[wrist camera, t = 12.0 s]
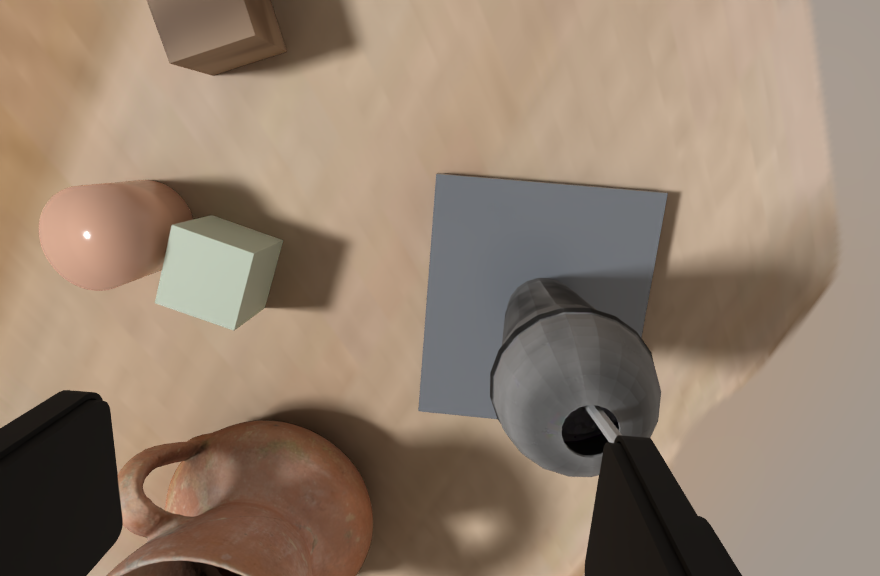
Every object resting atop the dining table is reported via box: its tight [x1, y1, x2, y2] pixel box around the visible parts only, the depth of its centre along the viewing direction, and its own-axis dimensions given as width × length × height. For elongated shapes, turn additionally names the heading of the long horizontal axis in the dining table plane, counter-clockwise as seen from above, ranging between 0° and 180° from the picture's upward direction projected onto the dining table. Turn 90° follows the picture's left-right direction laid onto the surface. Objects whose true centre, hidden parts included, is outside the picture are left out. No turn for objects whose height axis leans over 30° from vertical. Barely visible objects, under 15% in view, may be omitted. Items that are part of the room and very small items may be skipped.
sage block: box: [155, 215, 283, 330], centre depth 34 cm, size 5×5×5 cm
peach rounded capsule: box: [39, 180, 193, 291], centre depth 34 cm, size 6×6×6 cm
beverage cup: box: [490, 278, 661, 477], centre depth 25 cm, size 7×7×20 cm
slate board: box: [418, 173, 668, 419], centre depth 36 cm, size 16×14×1 cm
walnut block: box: [147, 0, 287, 75], centre depth 31 cm, size 5×5×5 cm
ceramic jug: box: [107, 421, 373, 576], centre depth 34 cm, size 18×14×14 cm
